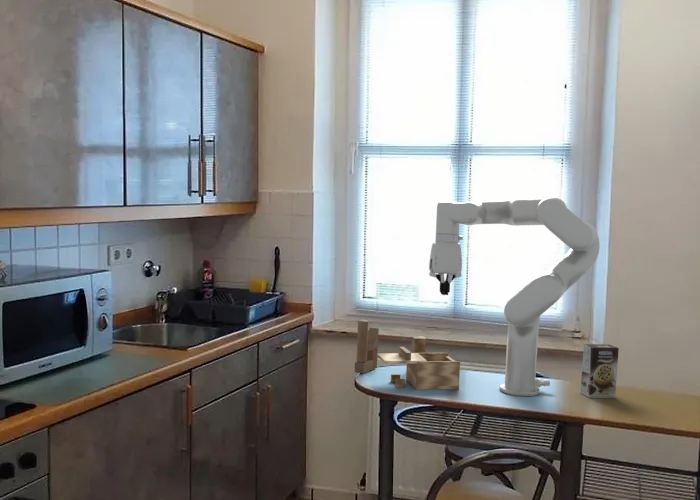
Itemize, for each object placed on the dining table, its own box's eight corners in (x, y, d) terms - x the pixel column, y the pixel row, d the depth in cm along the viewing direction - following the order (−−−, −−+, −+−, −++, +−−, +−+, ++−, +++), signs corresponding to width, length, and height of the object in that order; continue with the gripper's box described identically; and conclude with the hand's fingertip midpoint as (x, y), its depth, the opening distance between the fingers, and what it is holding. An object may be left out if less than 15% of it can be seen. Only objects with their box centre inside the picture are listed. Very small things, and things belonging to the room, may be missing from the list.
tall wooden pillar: (421, 369, 269) (422, 336, 268) (424, 372, 265) (425, 338, 264) (410, 369, 268) (411, 336, 268) (413, 372, 265) (414, 338, 264)
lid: (417, 355, 254) (418, 346, 254) (427, 363, 243) (427, 353, 243) (377, 355, 251) (377, 346, 251) (385, 363, 240) (385, 353, 240)
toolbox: (446, 378, 257) (447, 352, 257) (458, 388, 245) (460, 361, 244) (388, 379, 254) (389, 353, 253) (398, 389, 241) (399, 361, 240)
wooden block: (377, 368, 269) (379, 317, 268) (363, 374, 260) (365, 321, 258) (368, 366, 271) (370, 316, 270) (353, 372, 262) (355, 320, 260)
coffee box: (589, 398, 239) (592, 347, 238) (579, 392, 245) (582, 343, 244) (616, 398, 241) (619, 347, 239) (606, 392, 247) (609, 343, 246)
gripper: (464, 238, 255) (462, 293, 257) (421, 237, 252) (419, 292, 254) (472, 240, 248) (469, 296, 249) (428, 239, 245) (425, 296, 247)
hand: (444, 294), depth 252 cm, fingers closed
